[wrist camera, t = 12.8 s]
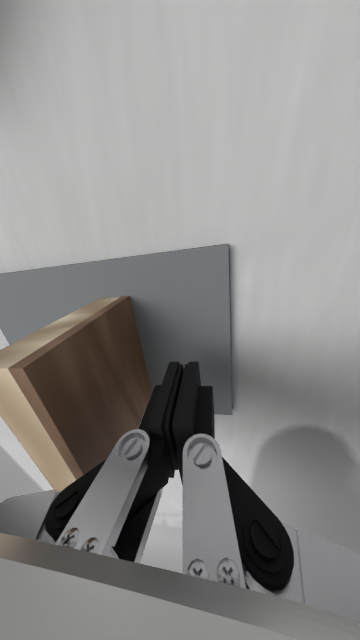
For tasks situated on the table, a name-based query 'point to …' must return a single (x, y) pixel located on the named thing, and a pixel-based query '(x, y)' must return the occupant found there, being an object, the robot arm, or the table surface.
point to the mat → (140, 307)
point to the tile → (75, 388)
